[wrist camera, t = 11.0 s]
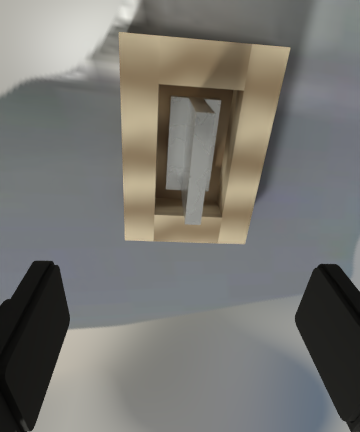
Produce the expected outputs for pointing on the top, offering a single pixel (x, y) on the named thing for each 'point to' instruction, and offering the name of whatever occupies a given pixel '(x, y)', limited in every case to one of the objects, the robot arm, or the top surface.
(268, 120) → the well block
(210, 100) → the t bracket
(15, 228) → the top surface
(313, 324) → the robot arm
